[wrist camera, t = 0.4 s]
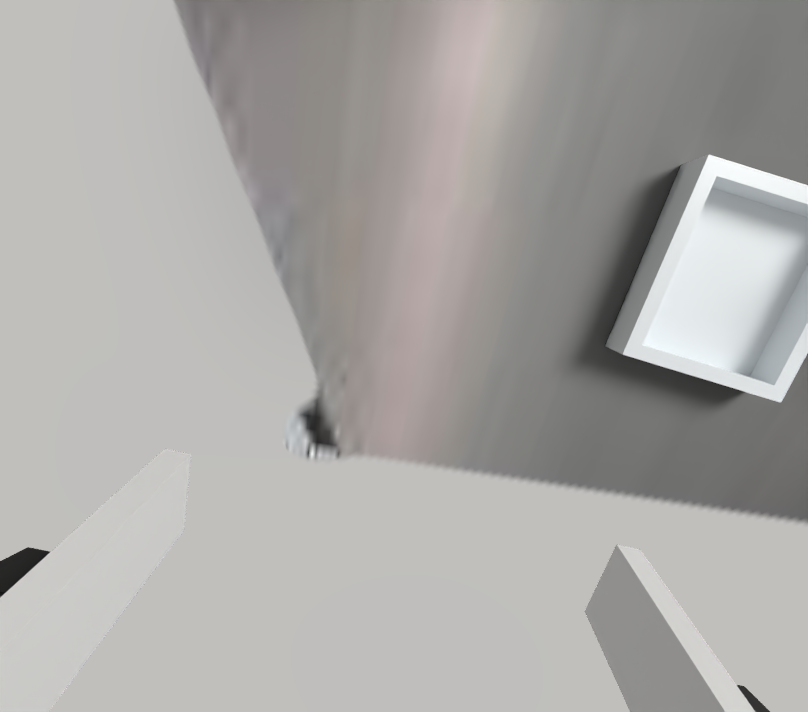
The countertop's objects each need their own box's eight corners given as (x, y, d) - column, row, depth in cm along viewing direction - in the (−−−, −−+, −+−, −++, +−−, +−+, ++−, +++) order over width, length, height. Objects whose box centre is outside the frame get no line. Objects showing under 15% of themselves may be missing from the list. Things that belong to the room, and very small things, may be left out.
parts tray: (681, 165, 35) (708, 154, 31) (840, 214, 35) (885, 209, 31) (604, 346, 38) (622, 354, 35) (749, 390, 39) (780, 402, 35)
